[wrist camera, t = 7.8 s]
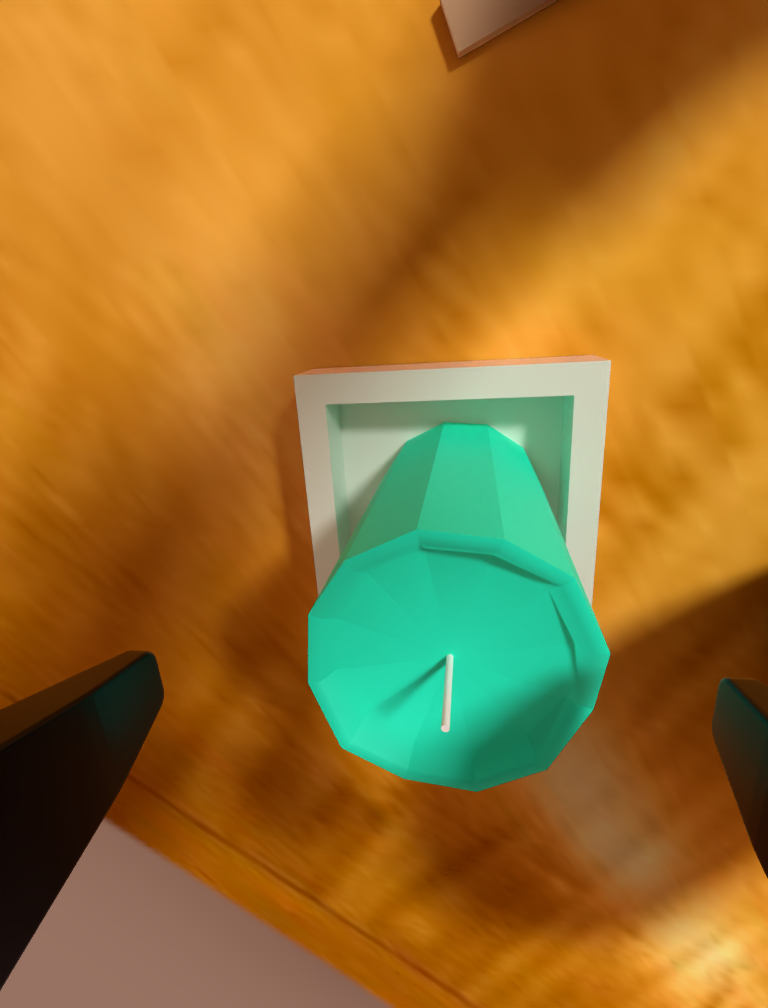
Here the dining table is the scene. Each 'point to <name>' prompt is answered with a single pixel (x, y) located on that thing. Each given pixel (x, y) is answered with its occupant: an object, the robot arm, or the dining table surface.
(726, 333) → the dining table surface
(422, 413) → the white square tray
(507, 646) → the candle
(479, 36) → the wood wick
